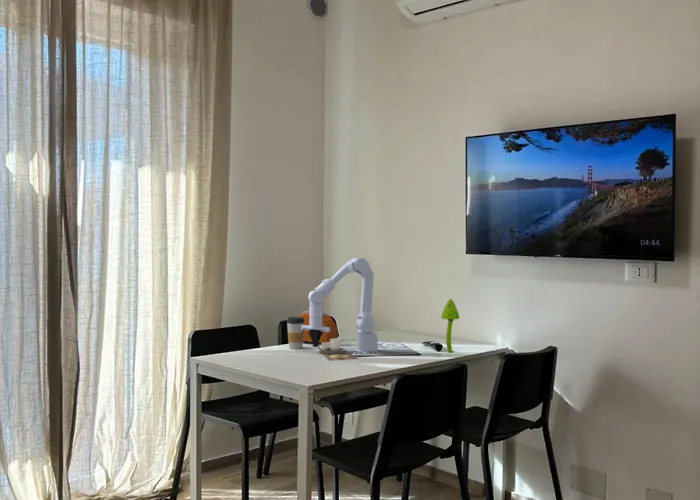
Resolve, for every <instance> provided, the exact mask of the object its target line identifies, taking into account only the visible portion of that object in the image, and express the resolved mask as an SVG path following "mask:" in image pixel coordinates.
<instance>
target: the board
mask: <svg viewBox="0 0 700 500" xmlns="http://www.w3.org/2000/svg"><path fill="white" fill-rule="evenodd" d="M317 352H318V353H320V354H321V355H322V356H323V357H324V358H326V359H327V360H328V361H347V360H359V358H358V357H356V355H353V354H352V353H350V352H349V351H347V350H346V354H345V355H350V358H345V359H335V358H331V357H330V356H331V355H328V354H326V353H325V352H324V349H322V350H317Z"/></svg>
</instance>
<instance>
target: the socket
mask: <svg viewBox="0 0 700 500" xmlns="http://www.w3.org/2000/svg"><path fill="white" fill-rule="evenodd" d="M323 350H324V352H325V353H326V354H328V355H335V354H346V351H347V350H346V349H345V348H343V347H342V346H341V350H336V351H330V348H323Z"/></svg>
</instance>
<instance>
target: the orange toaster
mask: <svg viewBox="0 0 700 500" xmlns="http://www.w3.org/2000/svg"><path fill="white" fill-rule="evenodd" d="M297 317H303V319H304V325H309V309H308V310H304V311H302V313H300V315H297ZM322 326H323V327H330V332H323V333H322V335H321V337H320V340H319V344H320V343H321V344H322V342H330V339H333V338H338V336H339V331H338V326H337V325H336V322H335V321H334V319H332V317H331V316H329V314H327V313H326V312H324V311H323V310H322ZM315 330H318V329H315ZM309 331H310V330H304V334H303V342H308V343H309V342H311V343H312V340H311V337H310V335H309V334H308V332H309Z"/></svg>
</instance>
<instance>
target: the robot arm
mask: <svg viewBox="0 0 700 500" xmlns="http://www.w3.org/2000/svg"><path fill="white" fill-rule="evenodd" d="M350 273H357V274H358V275H359V276H360V277H361V278H362V279H361V281H362V282H361V295H360V305H359V312H358V314H357V319H356V320H355V325H354V326H355V328H356V329H357V330H356V348H355V349H354V351H356V352H357V353H368V352H373V353H374V352H379V351H378V348H379V347H378V346H379V345H378V343H379V342H378V341H379V339H378V338H379V337H378V334H377V332H376V331H373V330H374V329H375V325H374V321H373V315H372V305H373V304H372V303H373V292H374V290H373V288H374V277H375V276H374V272H373V270H372V267H371V266H370V262H368V260H367V259H365V258H363V257H358V256H355V257H352V258H350V260H348V261H347V262H346V263H345V264H343V266H342V267H340V269H338V271H337V272H335V274H334V275H333V276H332V277H330V278H325V279H323V280H322V281H321V283H320V284H319V285H318V286H317V287H314V288H313V289H314V290H311V291H310V292H309V294H308V296H307V300H308V301H309V309H308V310H309V325H302V326H301V330H310V331H309V332H308V334H309V335H310V337H311V340H312V342H311V343H312V347H313V348H317V347H319V344H320V343H319V340H320V337H321V335H322V333H323V332H330V327H323V326H322V311H323V310H322V309H323V307H322V304H323V303H322V302H323V301H324V298H326V297H327V296H329V294H330V293H331V292H333V290H334V289H336V288H335V287H336V284H337V283H338V282H340V280H342V279H343V278H344V277H346V276H347V275H348V274H350ZM315 329H318V330H315Z"/></svg>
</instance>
